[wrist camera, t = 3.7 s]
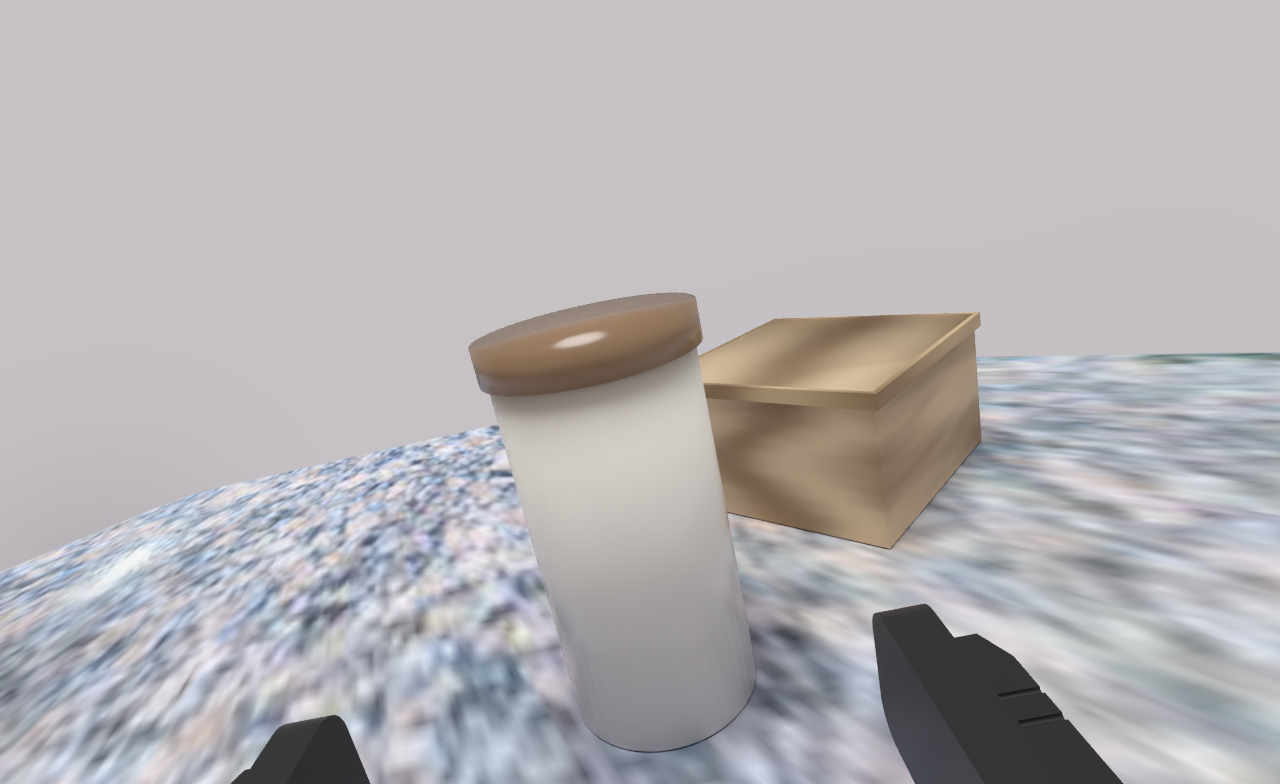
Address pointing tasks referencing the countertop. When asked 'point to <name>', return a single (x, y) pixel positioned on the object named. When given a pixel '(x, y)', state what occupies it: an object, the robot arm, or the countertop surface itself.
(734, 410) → the oak box
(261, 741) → the countertop surface
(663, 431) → the cream jar
